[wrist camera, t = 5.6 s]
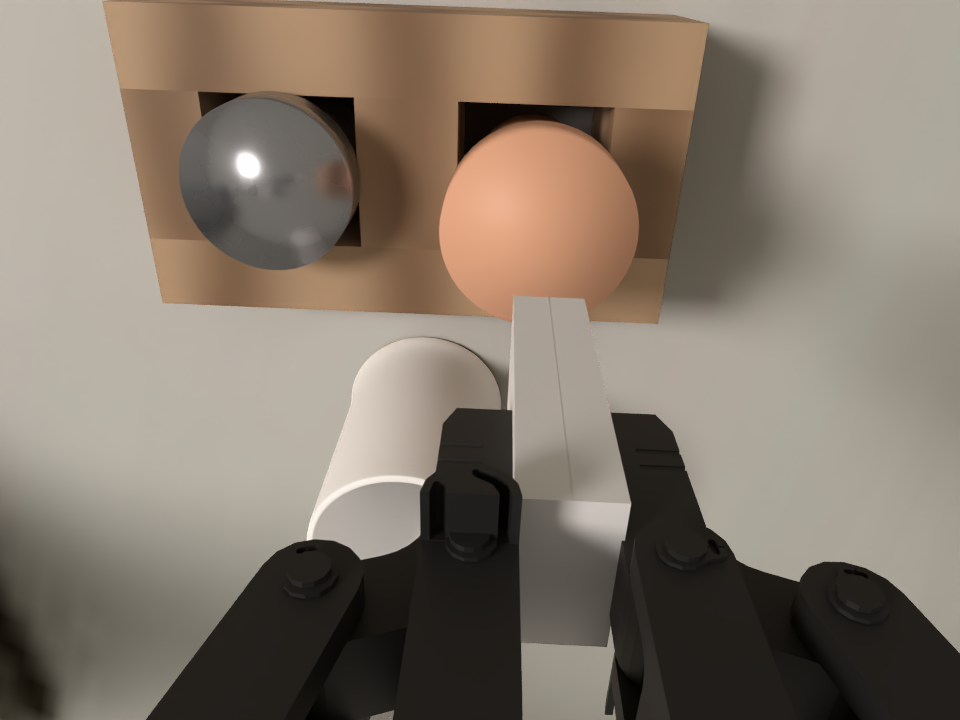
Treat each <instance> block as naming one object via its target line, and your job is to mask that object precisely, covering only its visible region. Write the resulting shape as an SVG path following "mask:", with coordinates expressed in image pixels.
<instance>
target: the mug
mask: <svg viewBox="0 0 960 720" xmlns="http://www.w3.org/2000/svg"><path fill="white" fill-rule="evenodd" d="M456 408H473V409H495V410H501V397H500V392H499V388H498V385H497V382H496V380H495V378H494V376H493V375H492V373H491V371H490V370H489V369H488V367H487V366H486V365H485V364H484V363H483V362H482V361H481V360H480V359H479V358H478V357H477V356H476V355H475V354H473V353H472V352H470V351H469V350H467V349H465V348H464V347H462V346H460V345H457V344H455V343H452V342H450V341H446V340H442V339H437V338H429V337H416V338H408V339H403V340H399V341H396V342H393V343H391V344H389V345H387V346H385V347H383V348H381V349H380V350H378V351H377V352H375V353H374V354H373V355H372V356H371V357H370V358H369V359H368V360H367V361H366V362H365V363H364V364H363V366H362V367H361V369H360V370H359V372H358V374H357V376H356V378H355V381H354V385H353V389H352V403H351V406H350V409H349V412H348V415H347V417H346V420H345V423H344V426H343V429H342V432H341V434H340V437H339V440H338V443H337V446H336V449H335V451H334V454H333V457H332V460H331V463H330V466H329V468H328V471H327V474H326V477H325V480H324V483H323V485H322V488H321V491H320V494H319V497H318V500H317V503H316V505H315V508H314V511H313V514H312V517H311V520H310V523H309V527H308V532H307V541H308V540H313V539H319V540H332V541H336V542H338V543H341V544H343V545H345V546H348V547H350V548H351V549H352V550H353V551H354V553H355V554H356V555H357V556H358V557H359V558H360V560H363V559H368V558H373V557H378V556H382V555H386V554H389V553H392V552H396V551H398V550H400V549H402V548H404V547H406V546H408V545H409V544H411V543H412V542H413V541H414V540H416V539H417V538H418V537H419V536H420V490H421V488H422V486H423V484H424V482H425V480H426V479H427V478H428V477H429V476H431V475H432V474H433V473H434V472H436V466H437V461H438V453H439V446H440V439H441V433H442V426H443V423H444V422H445V421H446V419H447V418H448V417H449V416H450V415H451V414H452V413H453V412H454V410H455V409H456Z"/></svg>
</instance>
